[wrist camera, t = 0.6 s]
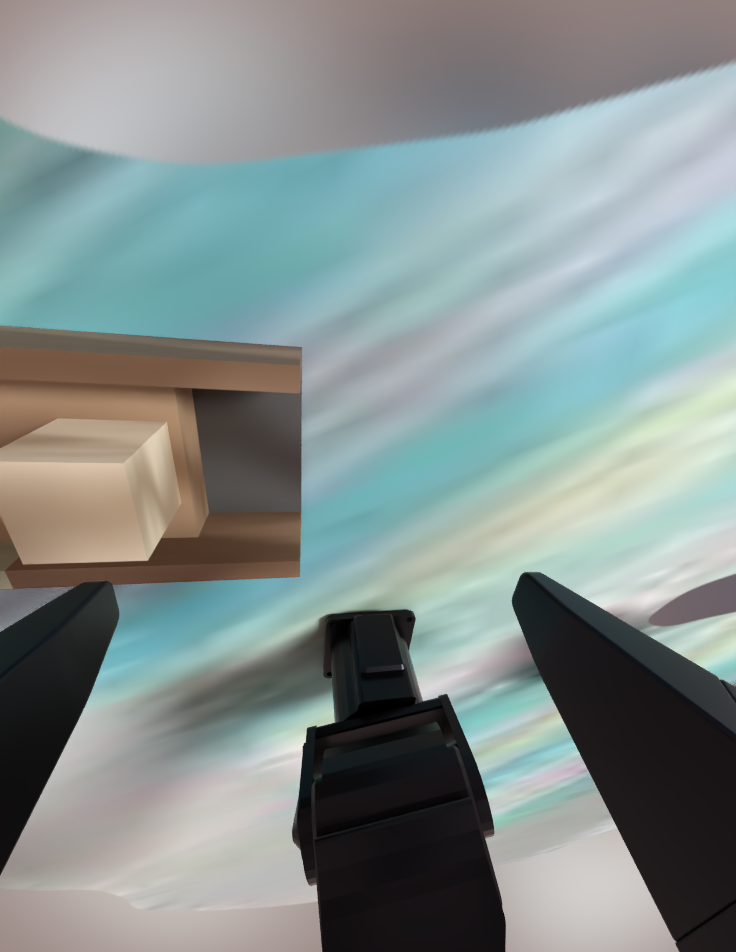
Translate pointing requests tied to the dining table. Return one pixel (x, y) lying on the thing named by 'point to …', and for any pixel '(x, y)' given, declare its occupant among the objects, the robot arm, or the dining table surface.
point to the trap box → (173, 445)
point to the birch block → (88, 491)
